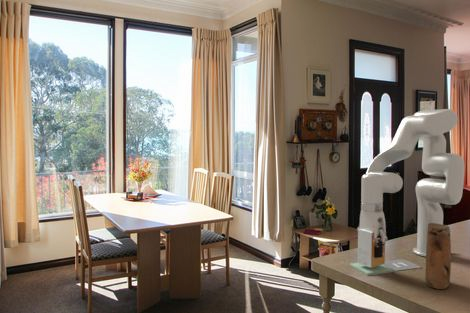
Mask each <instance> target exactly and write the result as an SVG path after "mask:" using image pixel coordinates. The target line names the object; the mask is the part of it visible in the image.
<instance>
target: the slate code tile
mask: <svg viewBox="0 0 470 313" xmlns="http://www.w3.org/2000/svg"><path fill="white" fill-rule="evenodd" d="M382 265H384V266H386V267H388V268H390V269H392V270H393V272H399V271H407V270H415V269H422V268H423V267H422V266H420V265H418V264H416V263H413V262H411V261H408V260H406V259H404V258H403V259H402V258H401V259H393V260H385V264H382Z"/></svg>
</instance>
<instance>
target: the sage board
mask: <svg viewBox="0 0 470 313" xmlns="http://www.w3.org/2000/svg"><path fill="white" fill-rule="evenodd" d="M349 267H351V268H353V269H355V270H357V271H359V272H360V273H362V274H363V275H365V276H373V275H382V274H389V273H393V272H394V270H392V269H390V268H388V267H386V266H384V265H378V266H375V267H372V268H371V267H367V266H364V265H361V264H358V262H353V263H349Z"/></svg>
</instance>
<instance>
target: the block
mask: <svg viewBox="0 0 470 313" xmlns="http://www.w3.org/2000/svg"><path fill="white" fill-rule="evenodd" d="M451 240H452V239H451V228H450V226H449V225H448V224H443V225H441V224H437V223H429V224H428V228H427V246H426V258H425V275H424V276H425V279H424V280H425V283H426V284H427V285H428V287H431V288H434V289H437V290H445V289H446V288H449V286H450V281H451V270H452V269H451V268H452V262H451V261H452V252H451V251H452V250H451V248H452V244H451Z"/></svg>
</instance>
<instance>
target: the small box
mask: <svg viewBox="0 0 470 313" xmlns="http://www.w3.org/2000/svg"><path fill="white" fill-rule="evenodd" d="M377 238H379V236H377ZM377 241H378V243H379V242H380V241H379V240H377ZM374 247H376V245H375V240H374V237H373V232H370V231H368V230H365V229H359V230H357V263H358V264H361V265H364V266H367V267H371V268H372V267H375V266H378V265H382V264H385V261H386V260H385V259H386V243H385V244H384V247H383V257H379V258H375V257H374Z"/></svg>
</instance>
